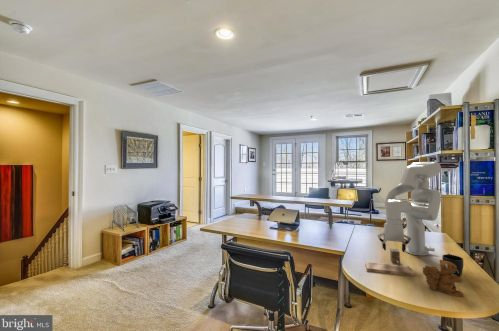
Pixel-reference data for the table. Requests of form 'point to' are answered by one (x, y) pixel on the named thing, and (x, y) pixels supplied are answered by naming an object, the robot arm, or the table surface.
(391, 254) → the walnut gauge
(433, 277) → the stuffed squirrel
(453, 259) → the mug
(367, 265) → the teak board
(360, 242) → the table surface
